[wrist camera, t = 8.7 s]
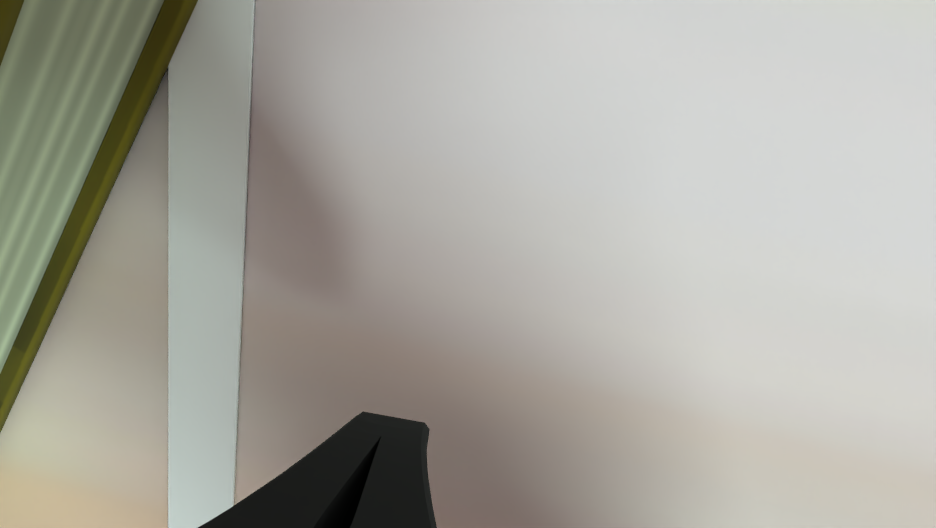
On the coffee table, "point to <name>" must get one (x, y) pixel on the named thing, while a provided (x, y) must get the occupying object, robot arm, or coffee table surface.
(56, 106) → the hardcover book
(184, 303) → the strip
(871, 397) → the coffee table surface
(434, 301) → the coffee table surface
